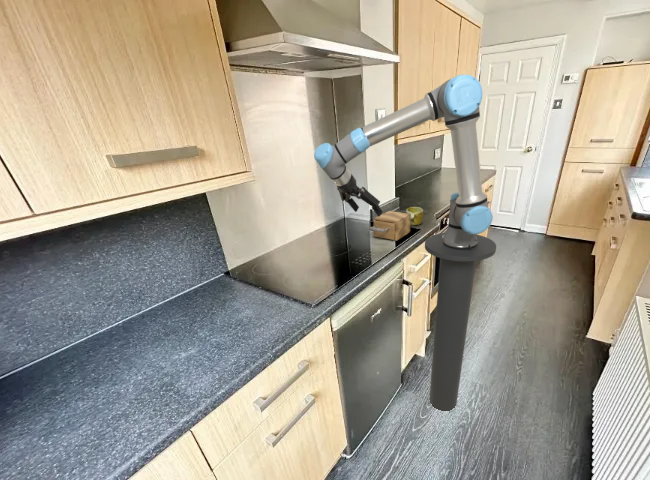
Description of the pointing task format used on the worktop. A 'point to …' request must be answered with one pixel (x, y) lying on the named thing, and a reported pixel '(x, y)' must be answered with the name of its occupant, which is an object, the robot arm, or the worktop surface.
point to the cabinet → (397, 222)
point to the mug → (415, 215)
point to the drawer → (384, 229)
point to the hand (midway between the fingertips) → (368, 211)
